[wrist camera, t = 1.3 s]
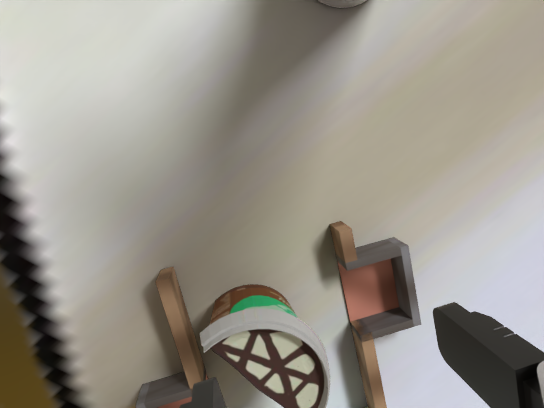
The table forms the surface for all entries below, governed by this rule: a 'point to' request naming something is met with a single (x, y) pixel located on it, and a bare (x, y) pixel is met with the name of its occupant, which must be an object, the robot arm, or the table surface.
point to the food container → (269, 346)
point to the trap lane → (360, 304)
